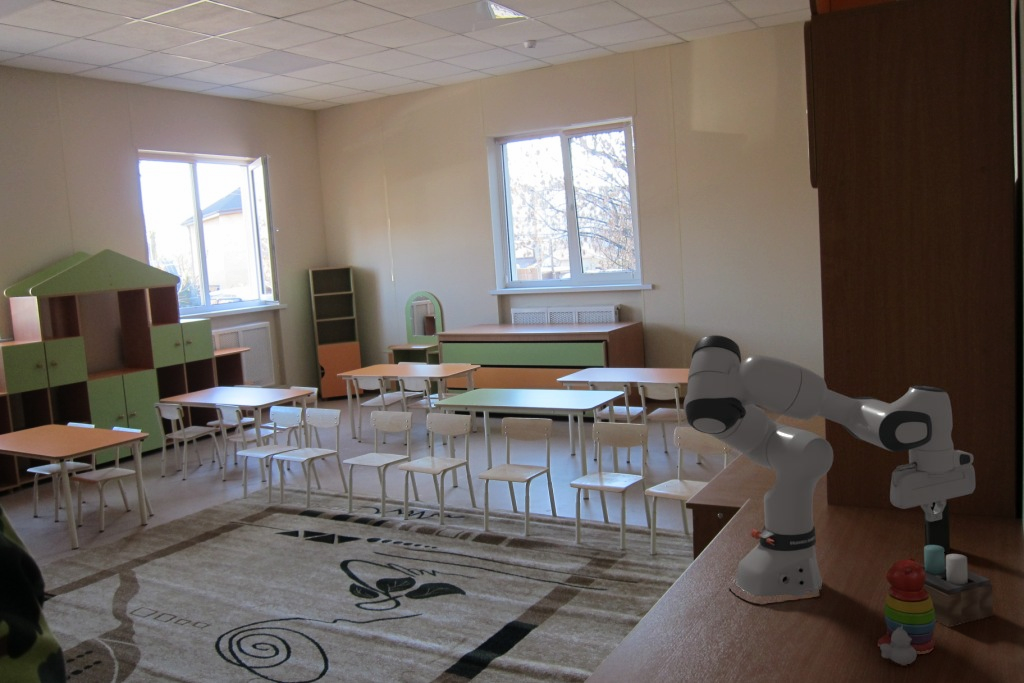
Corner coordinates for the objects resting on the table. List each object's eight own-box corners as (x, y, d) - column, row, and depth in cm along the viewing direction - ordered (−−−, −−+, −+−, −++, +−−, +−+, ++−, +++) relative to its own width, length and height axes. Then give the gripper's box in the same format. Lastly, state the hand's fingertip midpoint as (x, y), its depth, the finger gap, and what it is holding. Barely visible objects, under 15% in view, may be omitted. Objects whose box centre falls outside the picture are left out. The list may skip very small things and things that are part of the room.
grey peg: (957, 598, 181) (956, 562, 181) (942, 591, 185) (941, 556, 184) (972, 594, 183) (971, 558, 182) (957, 587, 186) (956, 552, 185)
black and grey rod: (951, 552, 218) (948, 457, 215) (929, 553, 219) (926, 457, 216) (945, 545, 223) (942, 452, 220) (924, 545, 224) (921, 452, 221)
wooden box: (948, 627, 180) (947, 591, 179) (902, 604, 192) (901, 570, 191) (993, 615, 183) (992, 579, 182) (945, 593, 195) (944, 559, 194)
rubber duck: (920, 670, 164) (919, 630, 163) (884, 670, 165) (882, 630, 164) (912, 656, 169) (911, 618, 168) (877, 656, 171) (875, 618, 170)
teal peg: (934, 587, 187) (933, 552, 186) (921, 581, 191) (919, 547, 190) (949, 584, 189) (948, 549, 188) (935, 577, 192) (934, 543, 191)
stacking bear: (890, 628, 181) (887, 547, 179) (942, 639, 175) (939, 555, 173) (874, 649, 173) (871, 565, 171) (928, 662, 167) (925, 574, 165)
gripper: (902, 470, 180) (905, 533, 182) (979, 454, 186) (981, 515, 188) (881, 463, 186) (884, 524, 188) (956, 448, 192) (959, 507, 194)
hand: (933, 519), depth 188 cm, fingers closed
